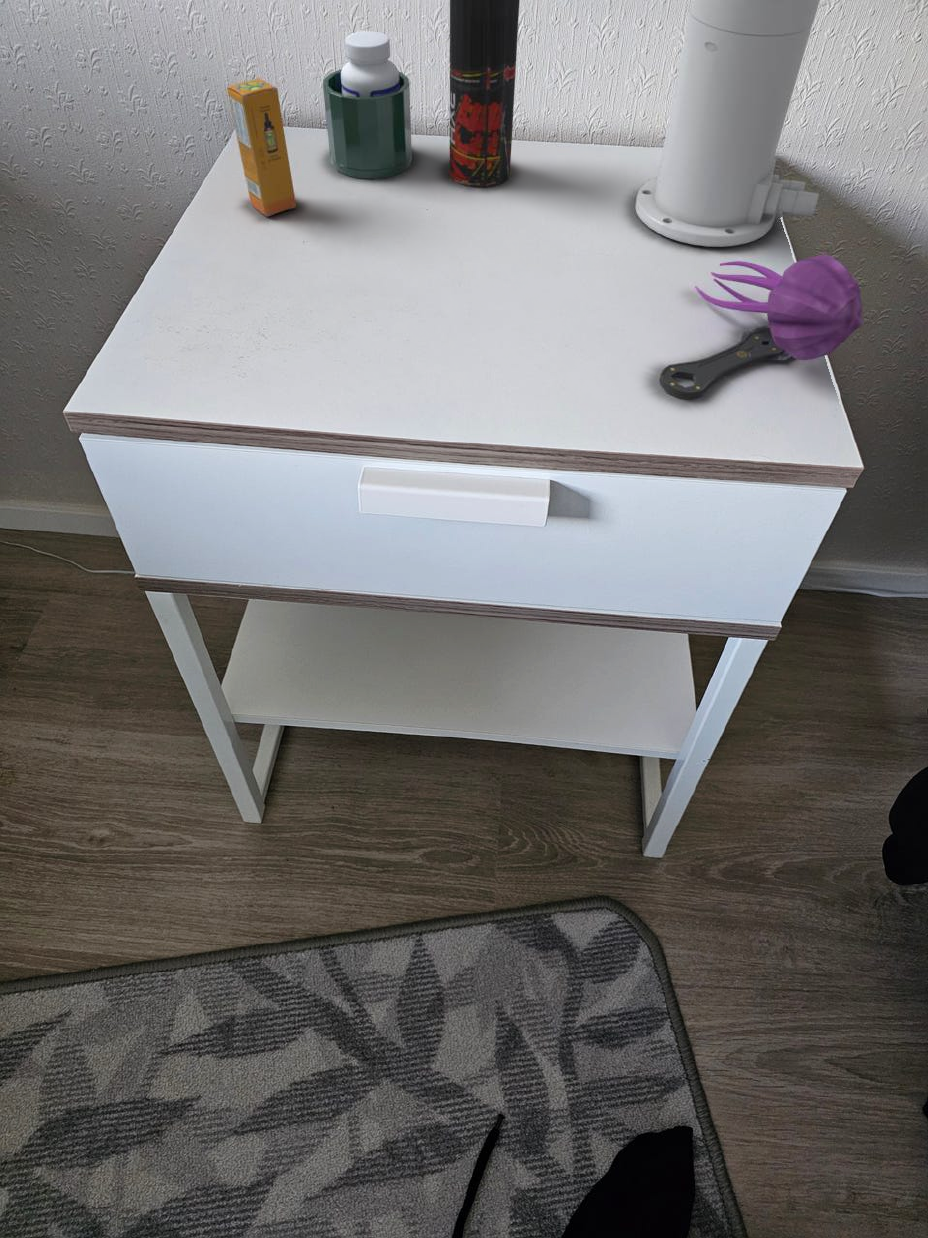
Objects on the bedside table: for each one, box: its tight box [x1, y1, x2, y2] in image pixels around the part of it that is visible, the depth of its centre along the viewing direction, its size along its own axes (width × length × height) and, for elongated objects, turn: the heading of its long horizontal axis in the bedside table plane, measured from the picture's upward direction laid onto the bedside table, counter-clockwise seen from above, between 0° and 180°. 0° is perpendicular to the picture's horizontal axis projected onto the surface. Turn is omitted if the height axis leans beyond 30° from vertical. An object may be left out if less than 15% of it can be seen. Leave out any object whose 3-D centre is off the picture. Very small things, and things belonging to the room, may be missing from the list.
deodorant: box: [449, 0, 520, 188], centre depth 77 cm, size 6×6×15 cm
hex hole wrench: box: [659, 323, 792, 400], centre depth 65 cm, size 4×20×1 cm, turn 125°
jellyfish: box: [694, 253, 863, 361], centre depth 63 cm, size 7×7×15 cm
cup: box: [322, 68, 413, 180], centre depth 81 cm, size 8×8×7 cm
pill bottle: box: [341, 30, 400, 97], centre depth 80 cm, size 5×5×10 cm
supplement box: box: [226, 77, 297, 218], centre depth 74 cm, size 3×3×10 cm
